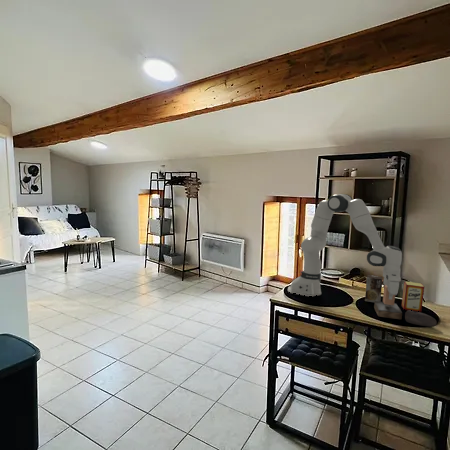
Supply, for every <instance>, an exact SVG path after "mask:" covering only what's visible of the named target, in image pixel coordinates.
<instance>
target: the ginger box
mask: <svg viewBox="0 0 450 450" xmlns="http://www.w3.org/2000/svg"><path fill="white" fill-rule="evenodd" d="M403 282H404V283H403V291H402V300H401V307H402V308H403V309H402V310H404V309H405V311H407V310H412V311H416V312H418V311H419V312H420V313H422V309H423V303H424V302H423V301H424V294H425V293H424V292H425V286H424V284H423V283H420V282H414V281H403Z"/></svg>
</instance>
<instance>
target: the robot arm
mask: <svg viewBox="0 0 450 450" xmlns="http://www.w3.org/2000/svg"><path fill="white" fill-rule="evenodd" d="M336 212H337V213H339V212H340V213H342V212H346V213H348V216H349V218H350V220H351V222H352V225H353V226H354V228H355V230H356V231H358V232H361V233H363V234H364V235H366V237H367V238H368V240H369V242H370V244H371V246H372V248H373V249H372V250H371V251H369V252H368V253H367V254H366V262H367V263H368V264H369V266H370V265H371V266H373V267H383V270H382V277H383V280H382V285H383V286H384V285H386V286H387V290H388V292H389V296H388V298H389V299H390V300H392V297H393V295H395V296H397V295H398V292H399V288H400V282H401V281H402V277H401V270H402V269H401V265H402V260H403V254H402V250H401V249H400V248H399V247H398V246H395V245H387V246H385V244H384V242H383V240H382V238H381V236H380V234H379V232H378V230H377V227H376V225H375V223H374V221H373V218H372V215H371V212H370V210H369V209H368V207H367V204H366V203H365V202H364V201H363V199H360V198H355V199H353V197H352V196H351V195H350V194H346V193H339V194H337V193H335V194H333V195H331V196H330V197H329V198H328V200H325V199H324V200H321V201H320V202H319V203H318V205H317V207H316V209H315V212H314V214H313V218H312V222H311V225H310V227H311V229H310V236H309V237H306V238H305V239H304V240H303V241H301V244H300V248H301V251H303V252H302V253H303V259H304V260H303V269H301V270H300V271H299V273H300V274H299V275H300V276H298V277H296V278H295V279H293V280H292V282H291V285H289V286H288V287H287V292H288V293H289V292H290V293H289V294H293V293H296V294H295V295H299V294H300V296H304V295H305V297H309V296H312V297H315V296H316V295H317V296H321V295H322V289H321V280H322V273H321V271H322V260H321V257H320V251H323V249H324V248H325V247H326V246H327V236H328V230H329V228H330V227H329V226H330V225H331V222H332V219H333V218H332V217H333V216H334V214H335V213H336Z"/></svg>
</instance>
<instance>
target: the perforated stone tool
mask: <svg viewBox="0 0 450 450" xmlns="http://www.w3.org/2000/svg"><path fill="white" fill-rule="evenodd" d="M404 319H405V321H406V323H409V324H412V325H417V326H421V327H428V328H429V327H430V328H432V327H435V326H436V325H437V323H438V322H437V320H436V319H435V318H434V317H433V316H431V315H429V314H426V313H424V312H418V311H411V310H406V312H405V313H404Z"/></svg>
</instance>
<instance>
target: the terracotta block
mask: <svg viewBox="0 0 450 450" xmlns="http://www.w3.org/2000/svg"><path fill="white" fill-rule="evenodd" d="M383 286H384V287H383V295H382V302H384V304H387V305H394V304H395V300H396V295H393V297H392V300H390V299H389V298H388V296H389V292H388V290H387V286H386V285H384V284H383Z"/></svg>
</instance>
